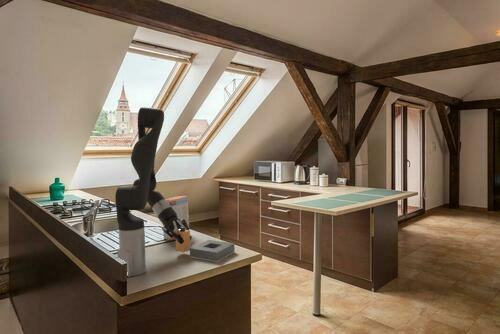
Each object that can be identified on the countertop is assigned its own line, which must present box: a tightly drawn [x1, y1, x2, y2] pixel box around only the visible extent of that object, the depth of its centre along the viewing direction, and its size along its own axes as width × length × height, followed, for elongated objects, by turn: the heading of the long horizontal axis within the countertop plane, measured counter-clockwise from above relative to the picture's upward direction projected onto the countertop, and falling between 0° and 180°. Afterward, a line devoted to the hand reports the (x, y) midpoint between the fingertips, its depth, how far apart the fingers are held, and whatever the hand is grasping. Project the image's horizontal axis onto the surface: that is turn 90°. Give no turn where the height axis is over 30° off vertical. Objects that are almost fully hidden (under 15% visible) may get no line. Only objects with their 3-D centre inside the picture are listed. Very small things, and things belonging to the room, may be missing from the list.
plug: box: [175, 227, 191, 253], centre depth 149 cm, size 4×4×10 cm
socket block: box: [189, 239, 235, 263], centre depth 148 cm, size 14×14×4 cm
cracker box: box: [162, 195, 190, 241], centre depth 178 cm, size 14×6×21 cm, turn 149°
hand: (186, 241), depth 148 cm, fingers closed on plug, 4 cm apart
